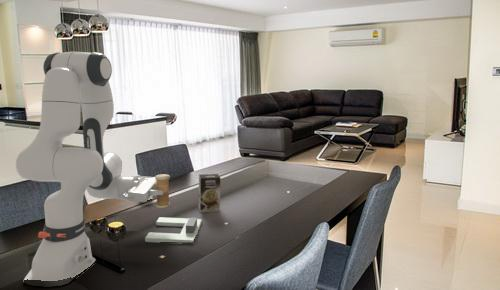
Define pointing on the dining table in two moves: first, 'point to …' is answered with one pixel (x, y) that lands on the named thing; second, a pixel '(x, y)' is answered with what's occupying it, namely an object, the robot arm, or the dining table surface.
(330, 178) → the dining table surface
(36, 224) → the dining table surface
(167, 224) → the notched board
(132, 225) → the dining table surface
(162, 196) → the bobbin
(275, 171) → the dining table surface
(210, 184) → the coffee box
